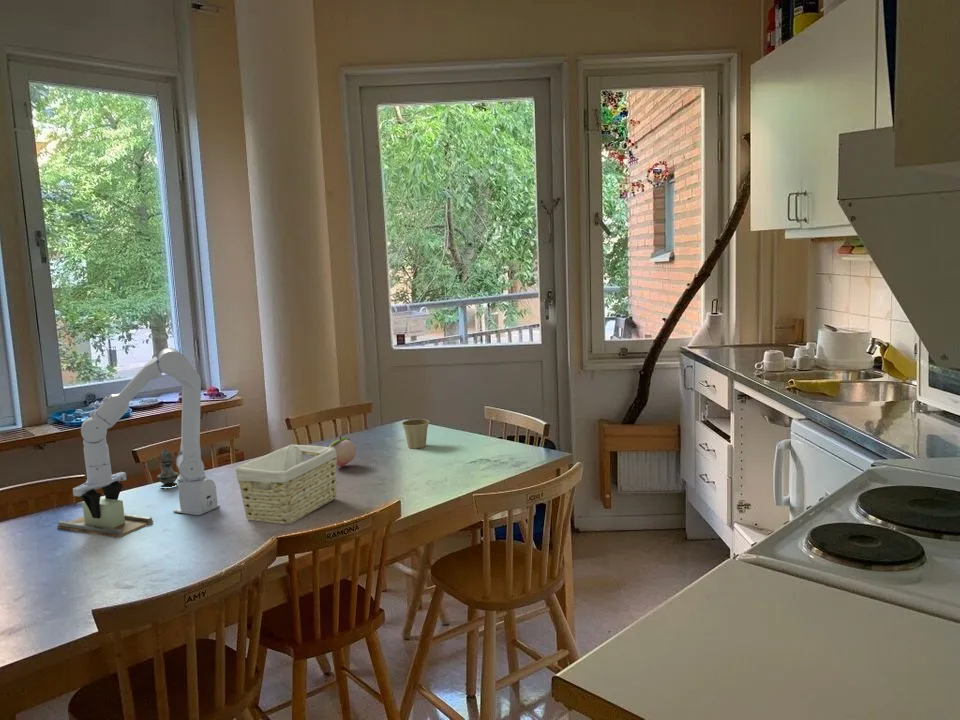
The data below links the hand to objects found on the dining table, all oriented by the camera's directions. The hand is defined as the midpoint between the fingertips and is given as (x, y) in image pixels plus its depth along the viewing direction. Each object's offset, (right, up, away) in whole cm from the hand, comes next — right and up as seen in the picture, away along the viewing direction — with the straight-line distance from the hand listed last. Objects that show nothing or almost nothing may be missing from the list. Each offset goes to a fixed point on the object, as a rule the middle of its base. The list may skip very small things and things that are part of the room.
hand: (104, 514), depth 202 cm
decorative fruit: (+54, +6, +44) cm, 70 cm away
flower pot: (+76, +10, +65) cm, 100 cm away
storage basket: (+47, 0, +6) cm, 48 cm away
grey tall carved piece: (+4, +2, +32) cm, 33 cm away
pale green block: (0, -2, 0) cm, 2 cm away
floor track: (0, -3, 0) cm, 3 cm away
